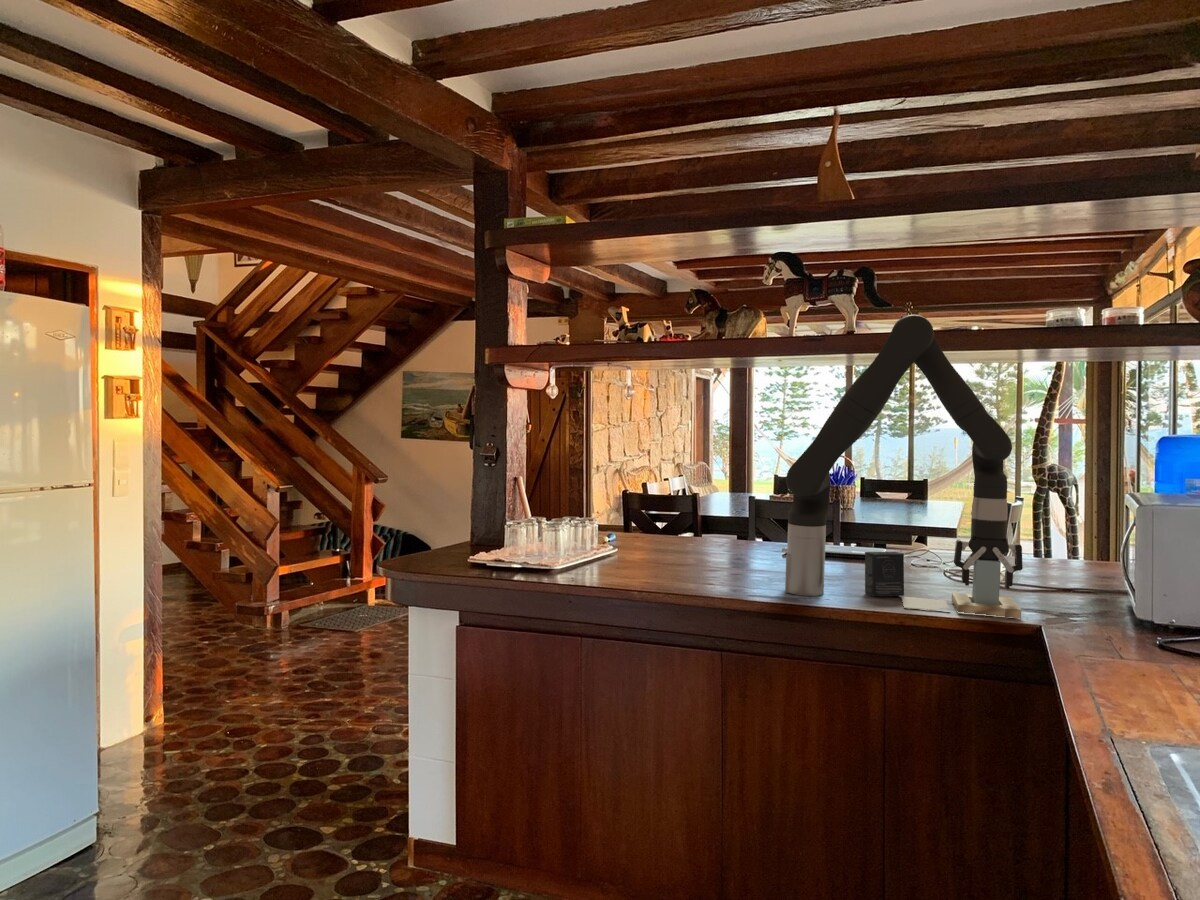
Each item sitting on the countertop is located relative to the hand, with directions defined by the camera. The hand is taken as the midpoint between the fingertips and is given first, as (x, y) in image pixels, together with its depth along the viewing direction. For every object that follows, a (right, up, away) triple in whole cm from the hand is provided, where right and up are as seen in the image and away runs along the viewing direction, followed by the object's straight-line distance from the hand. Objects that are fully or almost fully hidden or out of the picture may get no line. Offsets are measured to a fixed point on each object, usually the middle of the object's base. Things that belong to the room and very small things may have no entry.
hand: (986, 586), depth 191 cm
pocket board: (0, -6, +1) cm, 6 cm away
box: (-19, -5, +14) cm, 24 cm away
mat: (-13, -5, +4) cm, 14 cm away
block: (0, -6, +1) cm, 6 cm away
